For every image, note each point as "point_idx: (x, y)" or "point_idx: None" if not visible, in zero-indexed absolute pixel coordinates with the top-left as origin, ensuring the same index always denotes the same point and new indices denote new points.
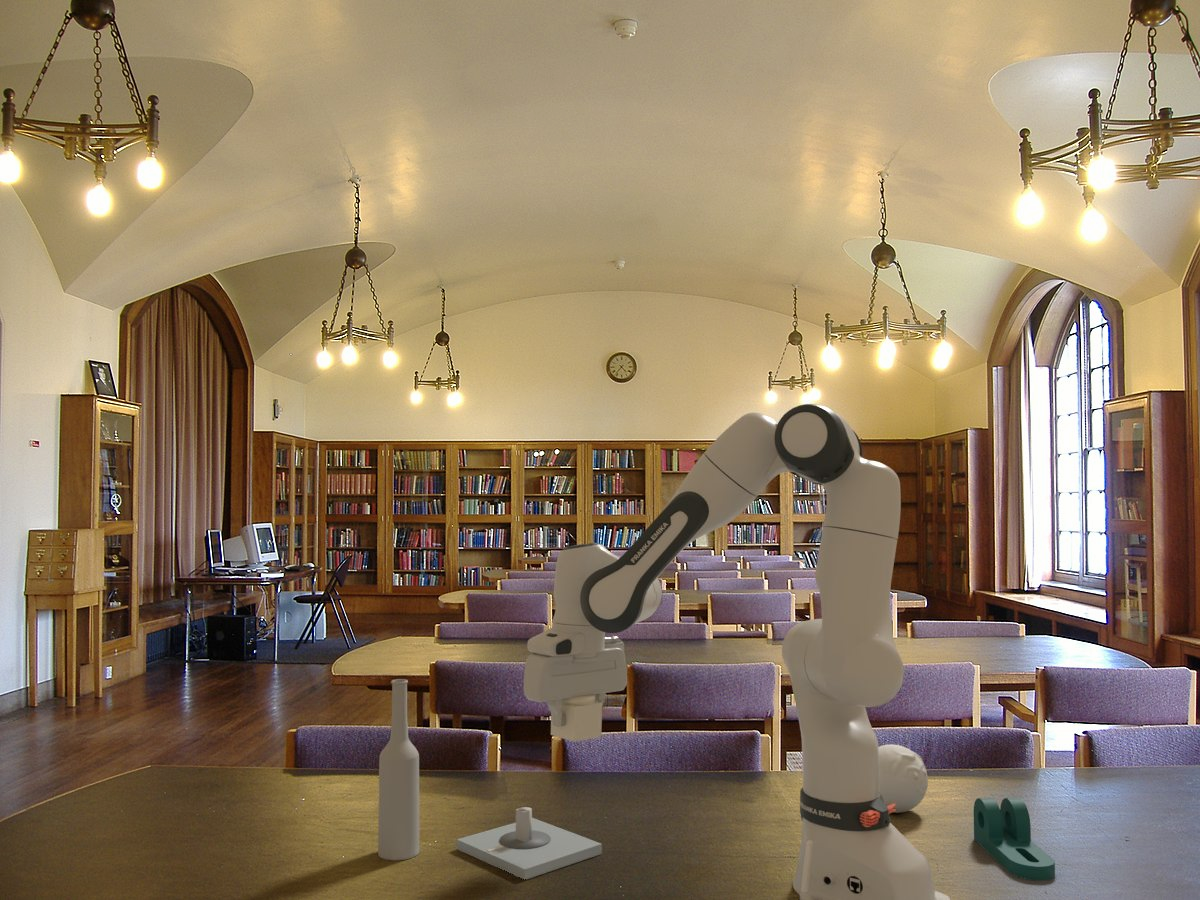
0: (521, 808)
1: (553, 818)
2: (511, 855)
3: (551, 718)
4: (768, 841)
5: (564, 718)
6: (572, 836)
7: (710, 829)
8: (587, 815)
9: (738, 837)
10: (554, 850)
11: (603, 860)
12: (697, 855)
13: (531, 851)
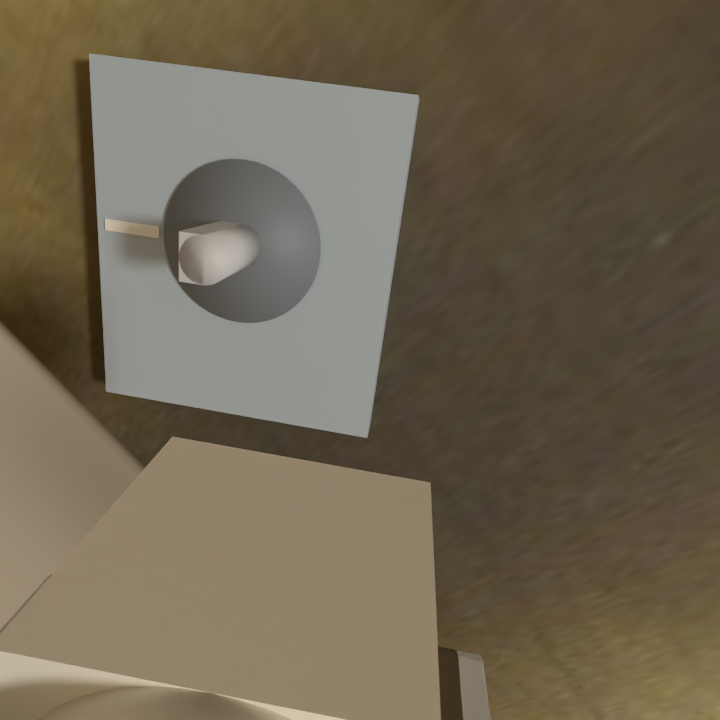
0: (199, 242)
1: (542, 90)
2: (136, 301)
3: (110, 512)
4: (695, 681)
5: None
6: (360, 338)
7: (714, 549)
8: (643, 173)
9: (687, 623)
10: (243, 368)
11: (338, 451)
12: (507, 598)
13: (194, 324)
